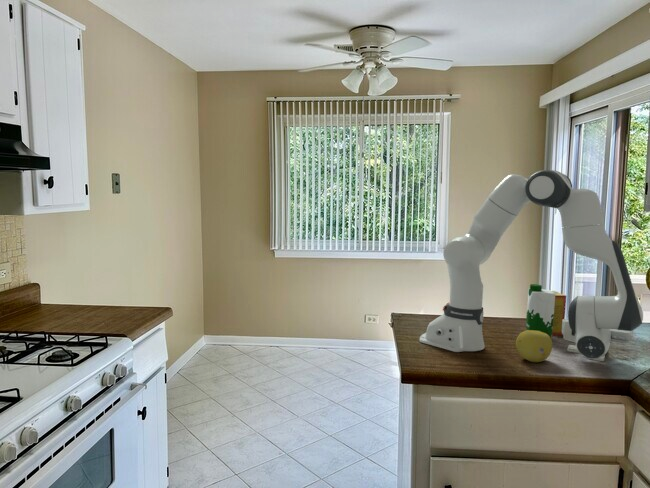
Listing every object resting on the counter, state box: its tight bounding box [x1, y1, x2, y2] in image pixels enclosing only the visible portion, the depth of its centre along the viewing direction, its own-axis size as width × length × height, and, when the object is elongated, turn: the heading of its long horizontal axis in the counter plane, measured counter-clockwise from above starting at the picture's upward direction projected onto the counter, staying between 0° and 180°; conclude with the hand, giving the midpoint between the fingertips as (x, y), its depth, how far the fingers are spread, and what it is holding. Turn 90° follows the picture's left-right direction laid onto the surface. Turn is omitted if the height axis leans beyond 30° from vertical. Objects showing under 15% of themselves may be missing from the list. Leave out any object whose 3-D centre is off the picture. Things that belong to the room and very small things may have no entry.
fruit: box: [515, 329, 553, 363], centre depth 146 cm, size 10×11×10 cm
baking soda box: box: [551, 290, 567, 336], centre depth 179 cm, size 10×6×16 cm
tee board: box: [567, 344, 606, 362], centre depth 155 cm, size 11×14×1 cm
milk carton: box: [525, 283, 555, 339], centre depth 171 cm, size 9×9×20 cm
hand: (597, 325), depth 154 cm, fingers closed on sprinkles bottle, 4 cm apart
